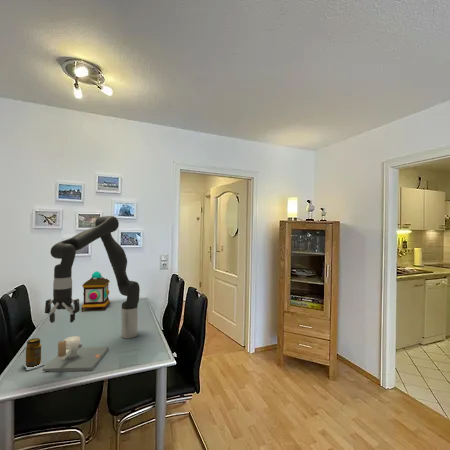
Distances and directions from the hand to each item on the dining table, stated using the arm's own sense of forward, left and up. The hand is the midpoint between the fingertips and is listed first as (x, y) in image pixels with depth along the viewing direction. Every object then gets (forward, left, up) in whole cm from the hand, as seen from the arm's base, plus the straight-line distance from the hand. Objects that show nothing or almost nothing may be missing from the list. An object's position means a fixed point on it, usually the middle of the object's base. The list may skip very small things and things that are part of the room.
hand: (62, 322), depth 129 cm
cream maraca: (-6, 0, -17) cm, 18 cm away
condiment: (-5, -16, -22) cm, 28 cm away
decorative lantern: (-100, -22, -22) cm, 105 cm away
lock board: (-10, +3, -22) cm, 24 cm away
